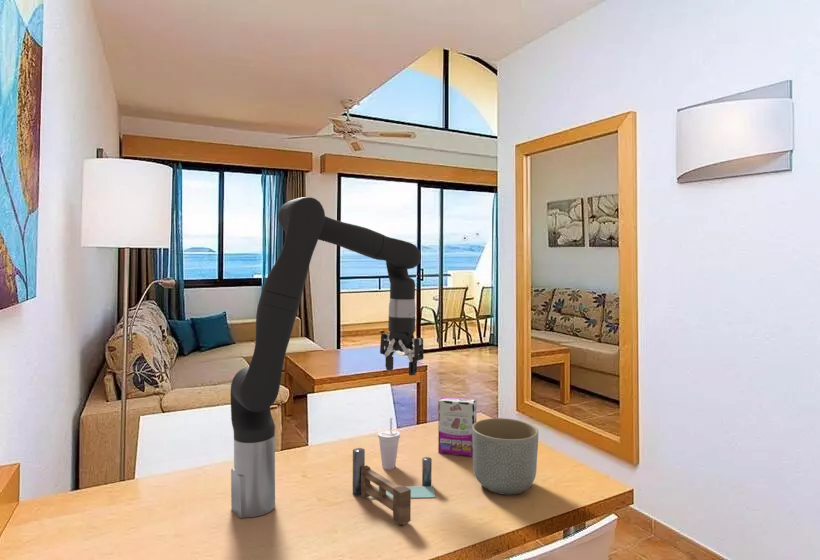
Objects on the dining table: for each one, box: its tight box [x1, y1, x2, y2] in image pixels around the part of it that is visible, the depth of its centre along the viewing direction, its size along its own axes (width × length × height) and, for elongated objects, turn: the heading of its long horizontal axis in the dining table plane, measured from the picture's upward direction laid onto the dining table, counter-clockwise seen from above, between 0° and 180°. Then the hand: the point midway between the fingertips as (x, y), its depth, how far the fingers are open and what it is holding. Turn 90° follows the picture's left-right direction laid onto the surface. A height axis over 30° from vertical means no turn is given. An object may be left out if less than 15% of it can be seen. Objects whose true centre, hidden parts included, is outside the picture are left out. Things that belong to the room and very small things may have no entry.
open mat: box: [370, 485, 436, 500], centre depth 127 cm, size 16×6×1 cm, turn 93°
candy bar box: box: [437, 396, 478, 458], centre depth 153 cm, size 11×5×16 cm, turn 73°
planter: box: [472, 417, 539, 495], centre depth 131 cm, size 17×17×15 cm
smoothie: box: [377, 417, 401, 471], centre depth 142 cm, size 6×6×14 cm
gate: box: [360, 464, 412, 526], centre depth 118 cm, size 17×3×7 cm, turn 38°
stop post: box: [421, 456, 433, 487], centre depth 131 cm, size 2×2×7 cm
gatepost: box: [352, 447, 366, 497], centre depth 126 cm, size 3×3×11 cm
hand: (400, 372), depth 141 cm, fingers open, 8 cm apart
